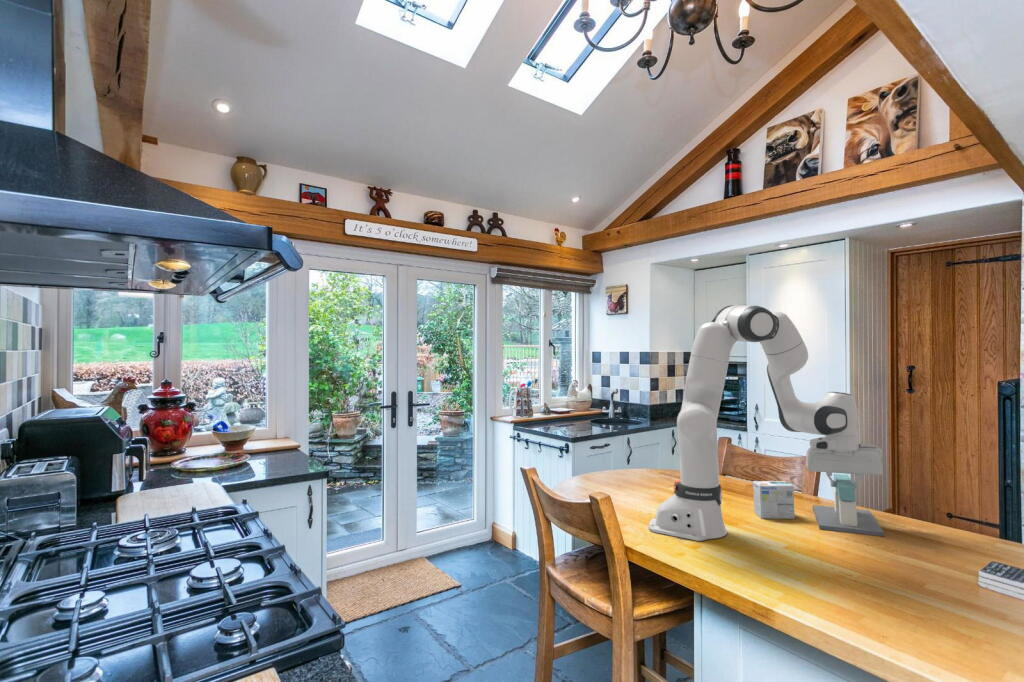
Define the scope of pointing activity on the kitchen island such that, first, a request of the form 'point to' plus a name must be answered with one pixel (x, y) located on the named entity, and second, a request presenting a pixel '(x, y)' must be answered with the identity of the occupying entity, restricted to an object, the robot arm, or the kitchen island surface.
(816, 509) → the board
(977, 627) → the kitchen island surface
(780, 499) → the light bulb box
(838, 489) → the beam
